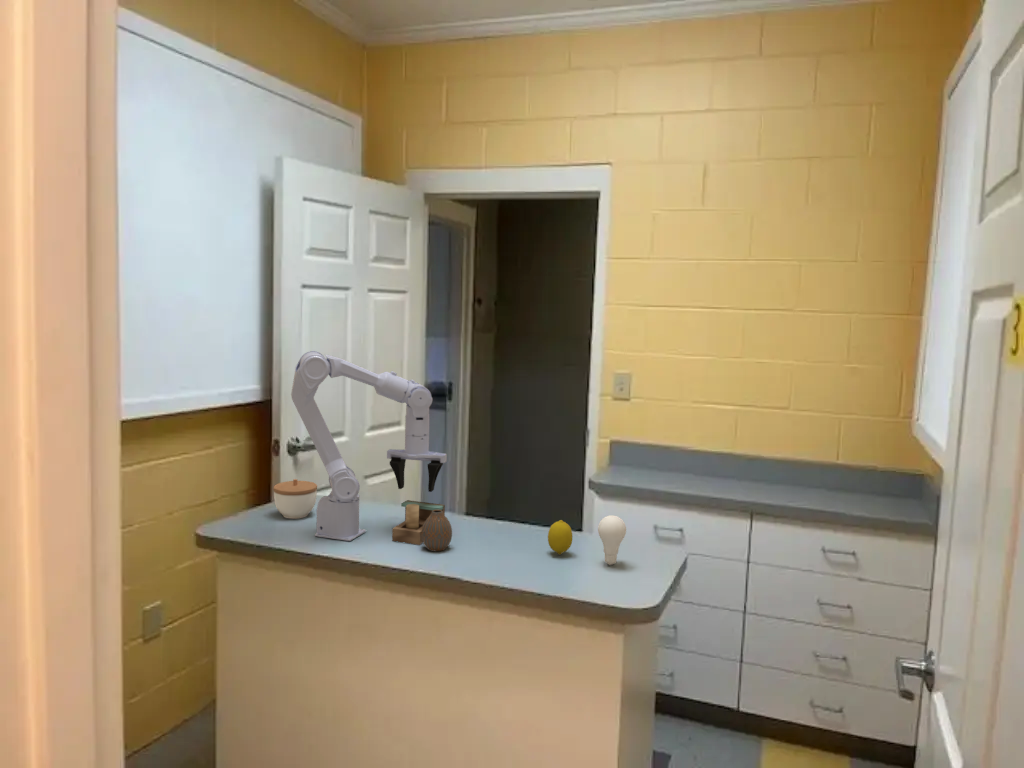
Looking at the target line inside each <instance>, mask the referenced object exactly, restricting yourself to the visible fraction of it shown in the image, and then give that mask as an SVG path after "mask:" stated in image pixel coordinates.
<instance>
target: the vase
mask: <svg viewBox="0 0 1024 768" xmlns="http://www.w3.org/2000/svg"><path fill="white" fill-rule="evenodd" d="M452 537H453V528H452V525H451V522H450V521H449V519H448V518H447V516H446V514H445V515H444V513H443V511H442V510H433V511H432V512H431V514H430V516H429V517H428V518H427V519H426V521H425V522H424V524H423V527H422V541H423V543H422V544H423V545H424V547H425V548H427V550H429V551H433V552H441V551H444V550H446V549H447V548H448V547H449V546H450V543H451V541H452Z"/></svg>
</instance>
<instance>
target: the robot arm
mask: <svg viewBox="0 0 1024 768" xmlns="http://www.w3.org/2000/svg"><path fill="white" fill-rule="evenodd" d="M397 374H398V373H397V372H395V371H393V370H391V371H390V372H389V371H384V372H381V373H376V372H374V371H371V370H370V369H367V368H365V367H362V366H359V365H357V364H355V363H353V362H350V361H349V360H346V359H343V358H341V357H337V356H334V355H330V354H326V353H324V354H322V353H321V352H319V351H316V350H310V351H306V352H305V353H303V355H301V357H300V359H299V360H298V363H297V364H296V365H295V367H294V376H293V381H292V382H293V383H292V387H291V393H290V395H291V400H292V403H293V404H294V406H295V408H296V411H297V412H298V415H299V416H300V418H301V421H302V423H303V426H304V427H305V429H306V431H307V433H308V435H309V437H310V439H311V441H312V443H313V446H314V448H315V449H316V452H317V453H318V455H319V457H320V460H321V461H322V463H323V466H324V468H325V470H326V472H327V474H328V484H329V486H330V487H331V491H330V493H329V494H328V495H324V496H322V497H321V498H320V499H319V500H318V502H317V507H316V533H314V537H317V538H318V537H319V538H326V539H333V540H338V541H339V540H340V541H345V542H351V541H353V540H354V539H357V538H358V537H359V536H361V535H363V534H364V533H366V532H367V529H365V528H363V529H362V528H360V495H359V492H360V482H359V480H358V479H357V477H356V473H355V472H354V471H353V470H354V469H353V470H352V468H350V467H349V466H348V465H347V464H346V462H345V461H344V458H343V456H342V454H341V452H340V450H339V448H338V445H337V443H336V441H335V440H334V437H333V436H332V433H331V431H330V429H329V427H328V425H327V423H326V421H325V419H324V417H323V415H322V413H321V411H320V409H319V407H318V404H317V402H316V400H315V395H316V393H317V390H318V389H319V386H320V385H321V384H322V383H323V382H324V381H325V379H327V377H328V376H329V377H330V378H331V379H333V378H337V377H346V378H348V379H351V380H354V381H358V382H360V383H363V384H364V385H365V384H366V385H368V386H371V387H373V388H374V390H375V392H376V394H377V395H379V396H382V397H383V398H387V399H389V400H393V401H395V402H397V403H399V404H400V403H401V404H404V403H405V404H406V406H405V407H406V408H405V409H406V410H405V417H404V418H405V420H404V421H405V427H404V428H405V429H404V449H394V448H389V449H388V450H386V459H388V460H389V459H390V460H389V465H390V467H391V469H392V471H393V474H394V476H395V479H396V484H397V487H398V490H402V489H403V488H405V466H406V461H407V460H411V461H420V462H421V461H423V462H424V461H425V462H429V463H427V471H428V484H427V488H428V489H427V491H428V492H429V493H431V492H434V490H435V485H436V482H437V478H438V475H439V473H440V470H441V468H442V466H443V465H444V464H445V463H447V462H448V460H447V458H448V457H447V456H448V455H447V453H442V452H438V451H437V452H436V451H431V450H430V448H429V447H430V446H429V445H430V407H431V406H432V403H433V397H432V393H431V391H430V390H429V389H428V388H427V387H426V386H424V385H422V384H420V383H419V382H416V380H414V379H413V378H412V379H409V380H408V379H407V378H404V377H401V376H400V375H397Z"/></svg>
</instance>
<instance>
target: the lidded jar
mask: <svg viewBox="0 0 1024 768" xmlns="http://www.w3.org/2000/svg"><path fill="white" fill-rule="evenodd" d="M272 489H273V497H274V499H273V500H274V503H275V504H274V505H275V507H276V510H277V511H278V512H279V513H280V514H281V515H282V517H284V518H285V519H291V520H292V519H293V520H296V519H304V518H306V517H308V516H309V514H310V512H312V510H313V509H314V507H315V504H316V501H317V496H318V495H317V493H318V492H317V490H318V485H317V483H316V482H312V481H308V480H298V479H297V478H293V480H287V481H281V482H278V483H277V484H275V485H274V486H273V488H272Z"/></svg>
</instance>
